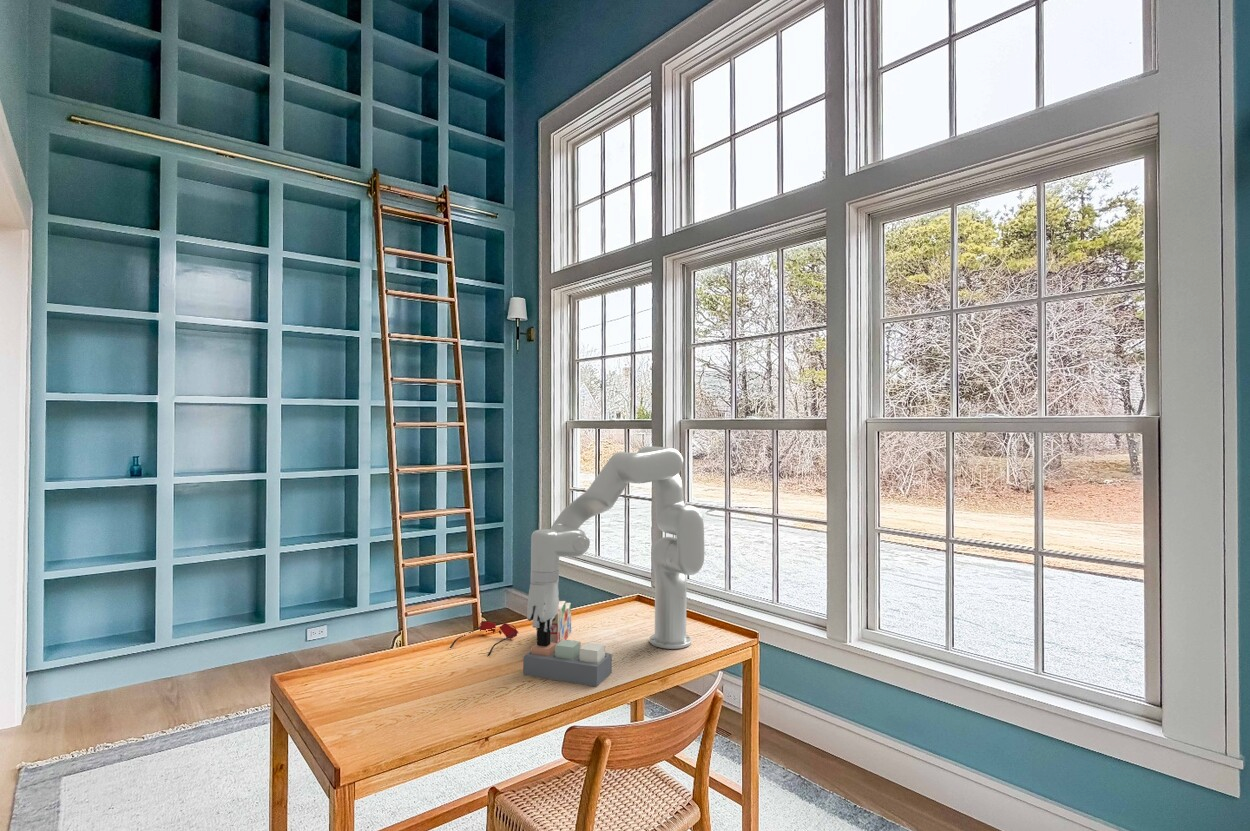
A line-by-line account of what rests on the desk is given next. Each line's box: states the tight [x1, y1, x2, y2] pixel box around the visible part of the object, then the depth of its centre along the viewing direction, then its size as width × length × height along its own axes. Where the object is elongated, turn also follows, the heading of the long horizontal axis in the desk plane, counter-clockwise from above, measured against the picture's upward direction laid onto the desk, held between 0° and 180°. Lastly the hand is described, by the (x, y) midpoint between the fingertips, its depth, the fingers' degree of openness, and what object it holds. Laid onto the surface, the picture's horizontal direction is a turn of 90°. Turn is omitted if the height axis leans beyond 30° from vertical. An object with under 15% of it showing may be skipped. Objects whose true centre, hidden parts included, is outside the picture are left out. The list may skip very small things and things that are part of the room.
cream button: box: [580, 642, 606, 663], centre depth 173 cm, size 5×5×5 cm
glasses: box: [449, 620, 519, 657], centre depth 198 cm, size 14×16×5 cm
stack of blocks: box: [549, 600, 572, 644], centre depth 200 cm, size 21×6×12 cm, turn 174°
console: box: [522, 649, 613, 688], centre depth 175 cm, size 10×21×5 cm, turn 69°
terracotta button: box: [531, 642, 557, 656], centre depth 178 cm, size 5×5×5 cm
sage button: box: [555, 639, 582, 660], centre depth 175 cm, size 5×5×5 cm
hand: (543, 644), depth 178 cm, fingers closed
